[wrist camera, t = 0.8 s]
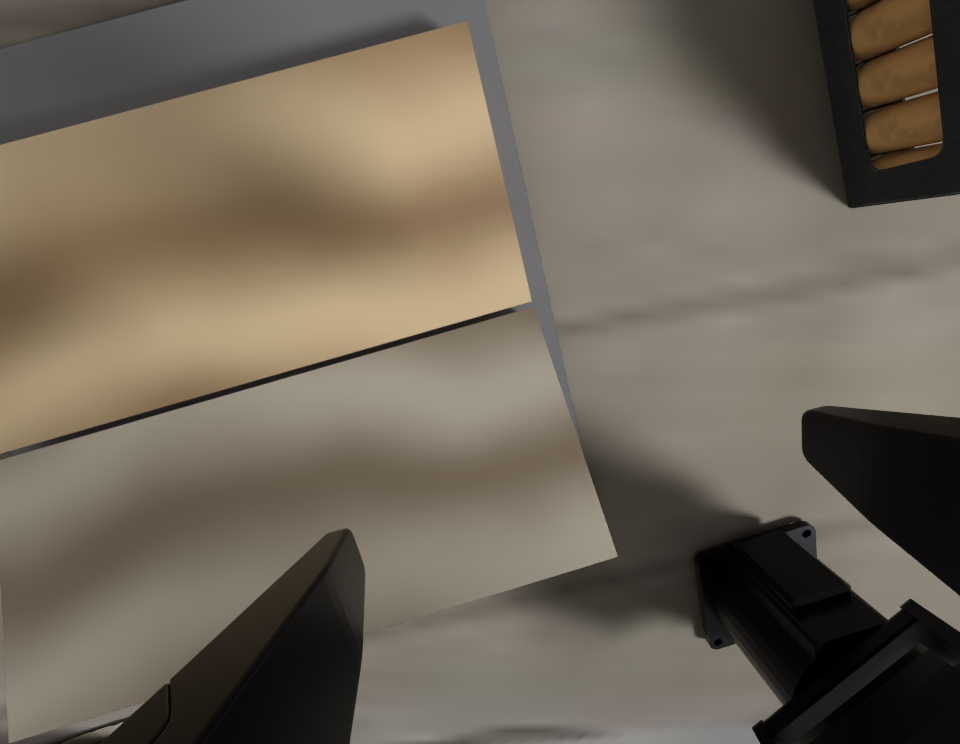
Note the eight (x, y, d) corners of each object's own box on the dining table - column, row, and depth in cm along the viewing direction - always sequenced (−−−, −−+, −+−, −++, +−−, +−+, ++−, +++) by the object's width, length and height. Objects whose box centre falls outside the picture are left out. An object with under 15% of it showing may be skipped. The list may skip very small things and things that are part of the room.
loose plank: (606, 549, 16) (617, 556, 15) (54, 718, 16) (8, 743, 14) (530, 320, 18) (533, 306, 17) (37, 462, 18) (-5, 461, 16)
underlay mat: (589, 503, 22) (596, 515, 21) (154, 634, 22) (141, 653, 21) (465, -54, 16) (468, -73, 15) (-178, 114, 15) (-220, 105, 14)
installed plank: (523, 296, 18) (531, 301, 17) (29, 437, 18) (-6, 455, 16) (463, 41, 15) (467, 21, 14) (-123, 197, 15) (-182, 193, 13)
